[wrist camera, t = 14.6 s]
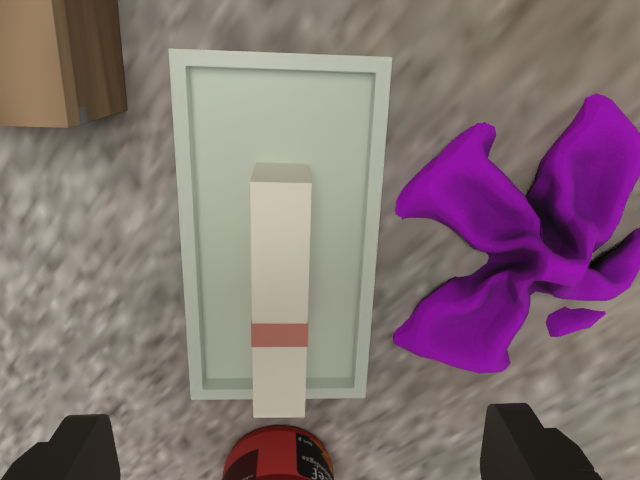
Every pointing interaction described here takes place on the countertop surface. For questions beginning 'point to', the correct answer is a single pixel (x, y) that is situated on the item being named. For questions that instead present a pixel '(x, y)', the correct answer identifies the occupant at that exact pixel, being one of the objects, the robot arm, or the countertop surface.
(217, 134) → the tray
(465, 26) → the countertop surface
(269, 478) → the canned food
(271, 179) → the pink-banded white block
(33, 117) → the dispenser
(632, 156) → the cloth
